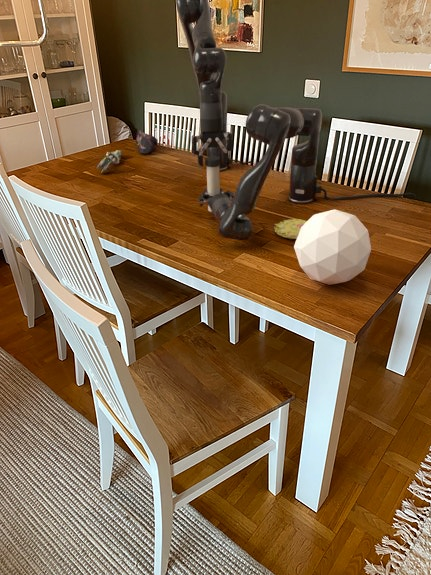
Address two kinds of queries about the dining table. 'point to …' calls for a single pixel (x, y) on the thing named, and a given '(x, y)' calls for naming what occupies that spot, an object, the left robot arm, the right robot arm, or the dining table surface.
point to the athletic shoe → (146, 142)
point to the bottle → (213, 181)
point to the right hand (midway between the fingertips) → (212, 191)
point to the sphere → (333, 247)
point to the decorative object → (290, 228)
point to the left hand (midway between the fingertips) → (212, 164)
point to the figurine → (110, 160)
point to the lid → (212, 161)
